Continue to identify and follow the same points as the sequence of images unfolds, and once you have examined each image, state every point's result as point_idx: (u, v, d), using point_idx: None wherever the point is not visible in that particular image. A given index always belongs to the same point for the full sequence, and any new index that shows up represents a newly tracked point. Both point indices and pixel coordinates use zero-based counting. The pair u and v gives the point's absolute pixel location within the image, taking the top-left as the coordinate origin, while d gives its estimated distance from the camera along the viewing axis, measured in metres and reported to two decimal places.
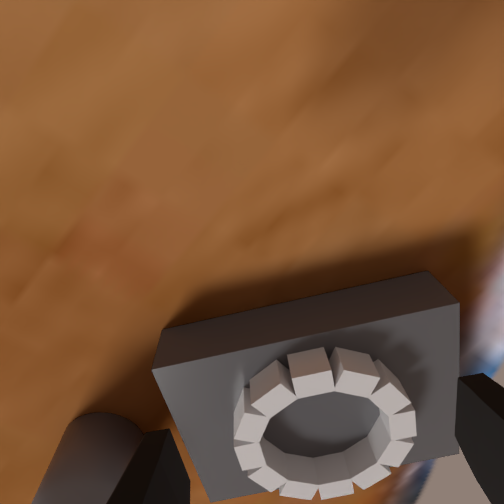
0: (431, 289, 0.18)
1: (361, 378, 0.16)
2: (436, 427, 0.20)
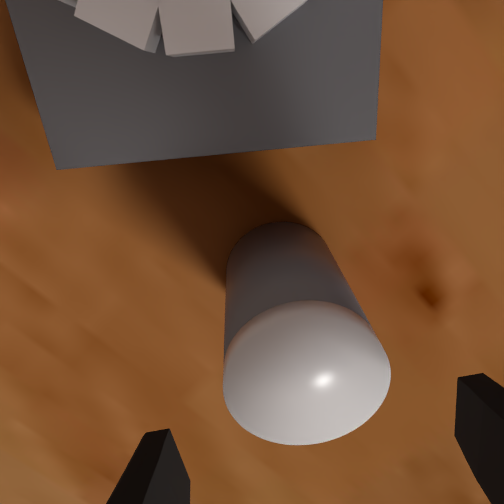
0: None
1: None
2: None
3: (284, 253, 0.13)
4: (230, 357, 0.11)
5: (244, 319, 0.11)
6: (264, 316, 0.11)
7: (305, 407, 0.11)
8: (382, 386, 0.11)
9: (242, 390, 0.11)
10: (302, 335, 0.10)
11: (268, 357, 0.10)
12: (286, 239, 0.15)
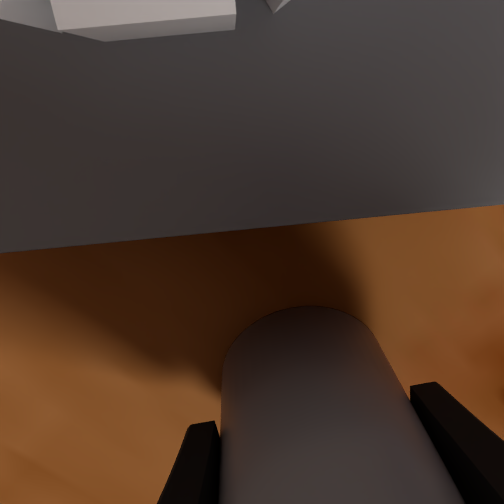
0: None
1: None
2: None
3: (323, 394, 0.08)
4: None
5: None
6: None
7: None
8: None
9: None
10: None
11: None
12: (320, 352, 0.09)
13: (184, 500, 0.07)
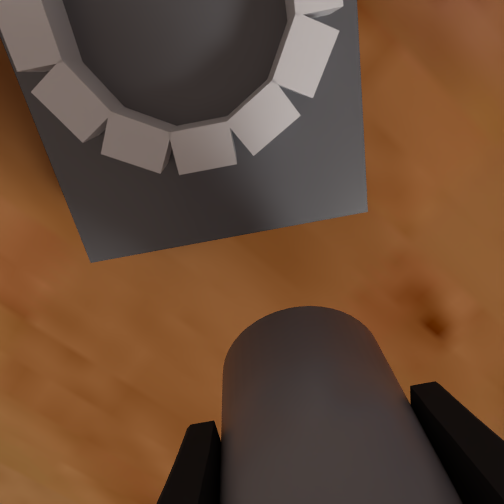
0: None
1: None
2: None
3: (322, 393, 0.08)
4: None
5: None
6: None
7: None
8: None
9: None
10: None
11: None
12: (319, 351, 0.09)
13: (184, 500, 0.07)
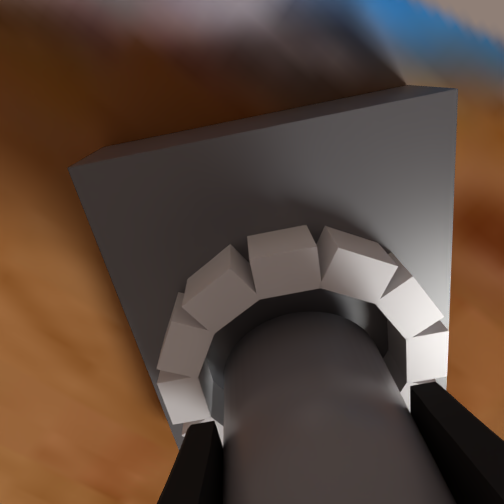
0: None
1: (173, 345, 0.11)
2: (362, 155, 0.10)
3: (319, 403, 0.08)
4: None
5: None
6: None
7: None
8: None
9: None
10: None
11: None
12: (317, 360, 0.09)
13: (184, 500, 0.07)
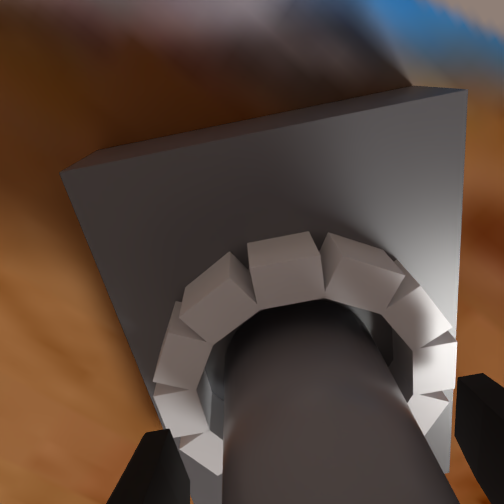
0: None
1: (170, 357, 0.10)
2: (367, 160, 0.10)
3: (313, 378, 0.08)
4: None
5: None
6: None
7: None
8: None
9: None
10: None
11: None
12: (312, 341, 0.10)
13: None
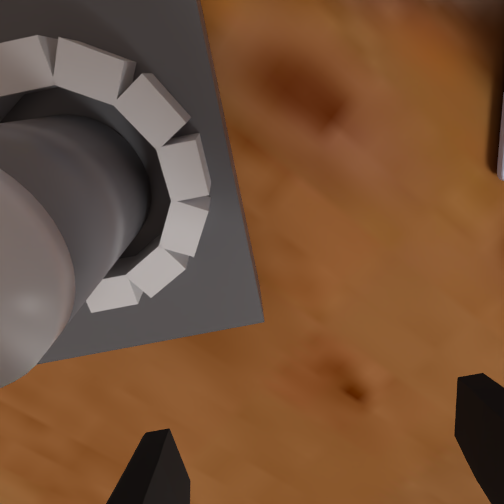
0: None
1: None
2: None
3: None
4: None
5: None
6: None
7: None
8: (41, 285, 0.07)
9: None
10: None
11: None
12: (29, 119, 0.10)
13: None
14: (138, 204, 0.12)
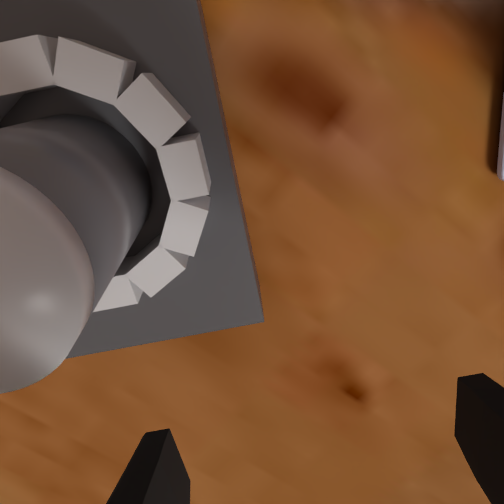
0: None
1: None
2: None
3: (0, 128, 0.09)
4: None
5: None
6: None
7: None
8: (66, 290, 0.07)
9: None
10: None
11: None
12: (33, 121, 0.10)
13: None
14: (142, 203, 0.12)
